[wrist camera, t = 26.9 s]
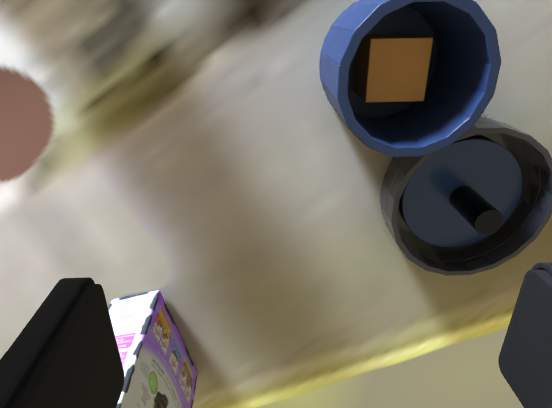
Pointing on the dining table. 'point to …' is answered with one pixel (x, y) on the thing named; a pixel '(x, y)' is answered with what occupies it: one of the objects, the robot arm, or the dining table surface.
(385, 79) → the block
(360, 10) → the pot
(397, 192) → the pan
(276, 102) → the dining table surface
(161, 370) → the candy box
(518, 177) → the lid
